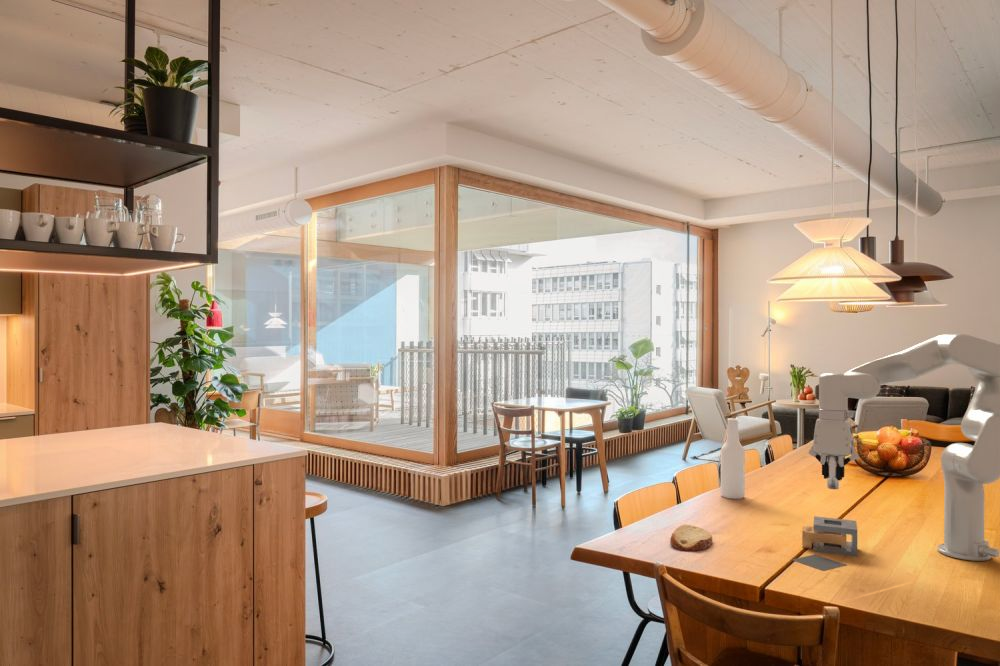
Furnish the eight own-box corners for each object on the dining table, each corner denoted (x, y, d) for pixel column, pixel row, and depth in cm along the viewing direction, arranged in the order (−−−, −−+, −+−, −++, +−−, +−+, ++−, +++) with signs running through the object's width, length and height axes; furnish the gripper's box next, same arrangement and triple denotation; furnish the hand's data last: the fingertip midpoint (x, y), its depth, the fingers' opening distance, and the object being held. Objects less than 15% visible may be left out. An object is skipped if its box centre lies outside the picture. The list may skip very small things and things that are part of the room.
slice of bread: (692, 530, 220) (692, 518, 220) (732, 546, 203) (732, 533, 203) (646, 537, 212) (646, 524, 212) (684, 554, 196) (684, 541, 196)
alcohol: (741, 494, 267) (741, 417, 267) (747, 499, 258) (747, 420, 258) (718, 493, 268) (718, 417, 268) (723, 499, 259) (723, 419, 259)
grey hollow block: (856, 548, 201) (856, 520, 201) (857, 558, 192) (857, 529, 192) (803, 541, 207) (803, 515, 207) (802, 551, 198) (802, 523, 198)
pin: (841, 488, 198) (841, 455, 198) (834, 489, 197) (834, 456, 197) (831, 486, 201) (831, 454, 201) (825, 487, 200) (825, 455, 199)
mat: (847, 566, 185) (847, 564, 185) (823, 572, 180) (823, 571, 180) (815, 555, 194) (815, 554, 194) (791, 561, 189) (791, 559, 189)
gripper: (867, 416, 197) (867, 480, 197) (806, 412, 207) (806, 473, 207) (861, 419, 191) (861, 485, 191) (799, 414, 201) (799, 477, 201)
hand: (833, 478), depth 199 cm, fingers closed on pin, 3 cm apart
